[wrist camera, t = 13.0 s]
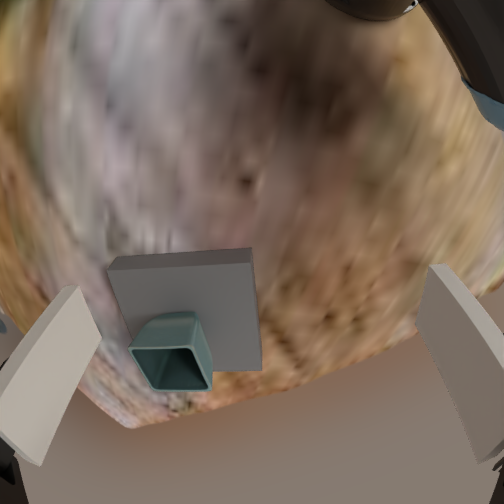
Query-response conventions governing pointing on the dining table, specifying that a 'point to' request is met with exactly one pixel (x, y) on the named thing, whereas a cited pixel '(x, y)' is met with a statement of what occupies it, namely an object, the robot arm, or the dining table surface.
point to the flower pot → (174, 353)
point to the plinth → (196, 299)
